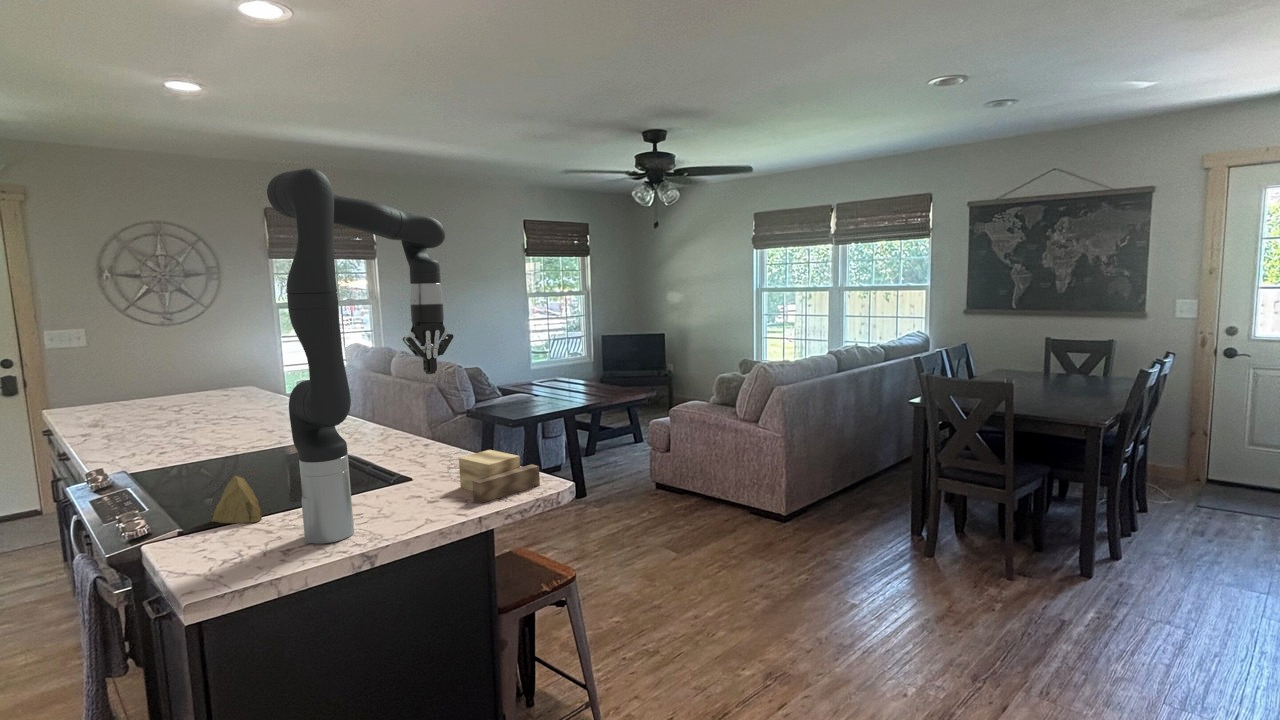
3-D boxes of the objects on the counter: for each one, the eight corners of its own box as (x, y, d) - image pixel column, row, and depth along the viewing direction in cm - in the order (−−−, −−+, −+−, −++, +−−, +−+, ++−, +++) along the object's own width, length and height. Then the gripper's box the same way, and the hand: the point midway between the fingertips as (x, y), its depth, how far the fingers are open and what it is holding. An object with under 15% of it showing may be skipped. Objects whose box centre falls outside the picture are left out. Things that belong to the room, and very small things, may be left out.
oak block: (490, 496, 167) (488, 464, 166) (460, 488, 174) (458, 457, 173) (521, 486, 174) (519, 455, 173) (491, 478, 182) (489, 449, 181)
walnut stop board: (480, 503, 161) (479, 483, 160) (473, 500, 163) (472, 480, 162) (539, 485, 174) (539, 466, 173) (532, 482, 176) (531, 464, 175)
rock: (276, 508, 154) (262, 494, 161) (249, 486, 149) (236, 472, 156) (235, 546, 149) (222, 529, 156) (206, 524, 144) (194, 507, 151)
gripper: (409, 303, 155) (413, 377, 157) (459, 301, 165) (462, 371, 167) (393, 303, 160) (397, 375, 162) (442, 301, 170) (446, 369, 172)
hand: (430, 373), depth 164 cm, fingers closed
